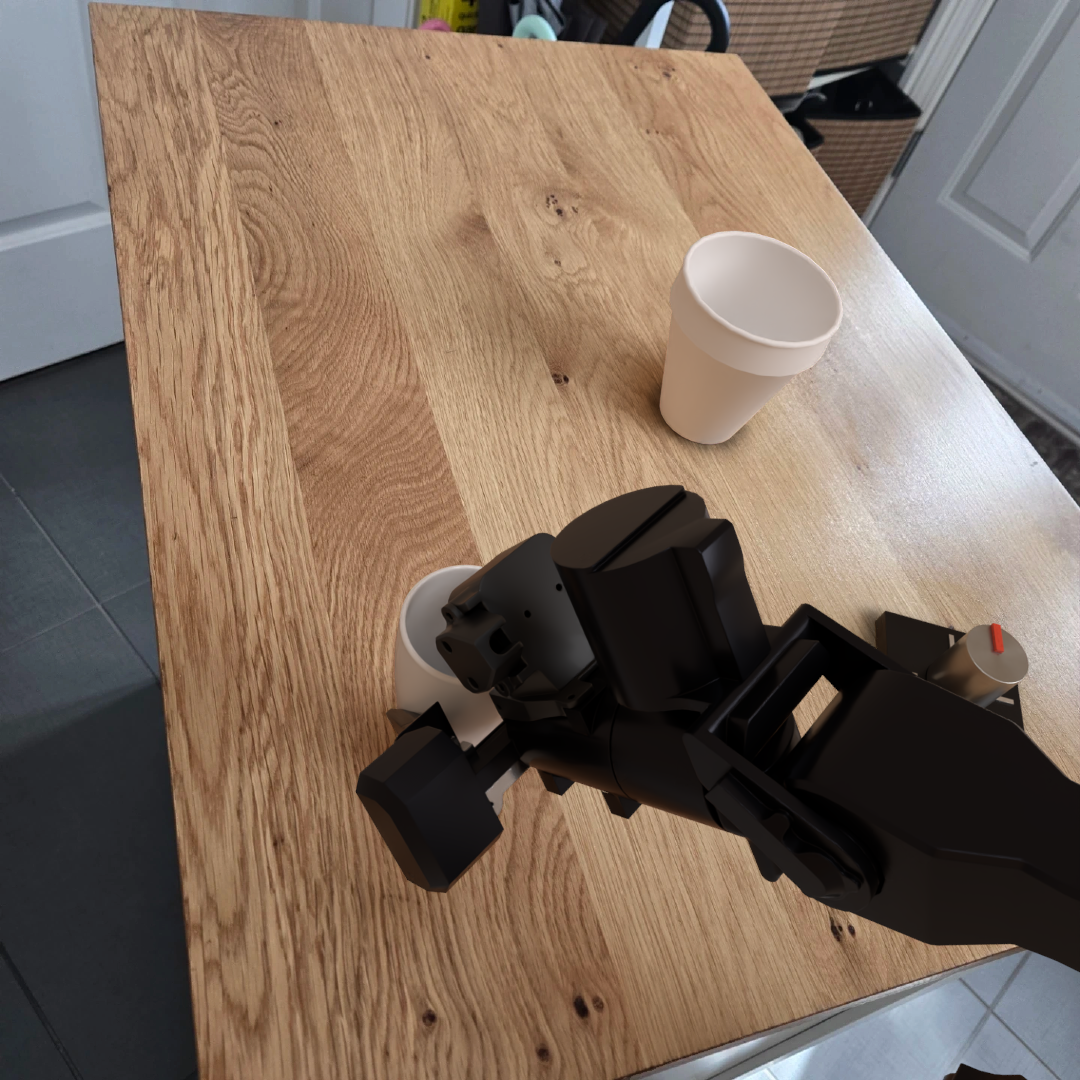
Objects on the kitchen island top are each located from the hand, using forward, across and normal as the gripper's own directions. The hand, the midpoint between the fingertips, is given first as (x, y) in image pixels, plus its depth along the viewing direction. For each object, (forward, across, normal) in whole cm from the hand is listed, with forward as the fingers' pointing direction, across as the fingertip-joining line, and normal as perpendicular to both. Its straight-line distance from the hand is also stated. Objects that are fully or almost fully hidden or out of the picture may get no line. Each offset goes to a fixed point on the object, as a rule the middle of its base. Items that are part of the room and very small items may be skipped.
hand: (438, 678), depth 51 cm
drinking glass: (+4, 0, +6) cm, 8 cm away
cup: (+10, -37, +2) cm, 38 cm away
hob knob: (-11, -30, +21) cm, 38 cm away
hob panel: (-10, -30, +22) cm, 38 cm away
